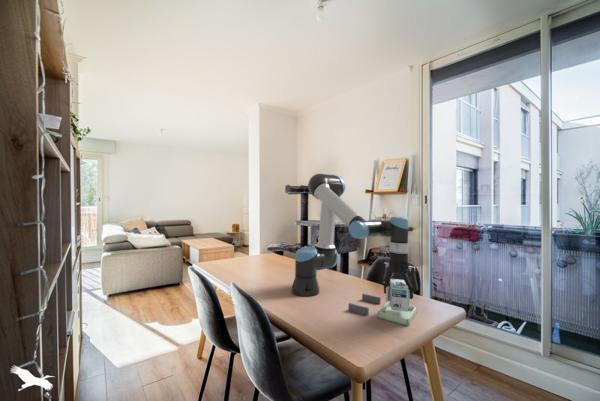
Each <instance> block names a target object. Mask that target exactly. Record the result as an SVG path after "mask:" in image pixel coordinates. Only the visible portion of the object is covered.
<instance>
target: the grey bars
mask: <svg viewBox="0 0 600 401" xmlns="http://www.w3.org/2000/svg"><path fill="white" fill-rule="evenodd" d="M361 295H362V296H361V299H362V301H365V302H369V303H373V304H378V305H380V304H381V302H382V301H381V300H382V297H381V296H376V295H373V294H372V295H371V294H367V293H362V294H361ZM381 305H382V304H381ZM369 310H370V307H367V306H365V305H364V306H363V305H359V304H356V303H351V302H349V303H348V311H350V312H354V313H358V314H361V315H364V316H365V315H366V316H369Z"/></svg>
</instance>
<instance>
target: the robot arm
mask: <svg viewBox="0 0 600 401" xmlns="http://www.w3.org/2000/svg"><path fill="white" fill-rule="evenodd" d="M345 183H346V182H345V181H344V179H343V178H342V177H341V176H338V175H335V174H326V173H316V174H314V175H312V176H311V177H310V179H309V180H308V184H307V187H308V190H309V193H310V194H311V195H312V196H313V198H315V199H316V200H320V201H321V204H320V205H321V206H320V217H319V227H318V228H319V231H318V239H317V240H318V242H316V243H315V245H314V246H313V247H312V246H311V247H310V246H307V247H301V248H299V249H297V250H296V251H295V258H294V259H295V268H294V276H295V277H294V279H293V282H292V285H291V293H292V294H293V295H296V296H300V297H312V296H313V297H314V296H317V295H319V294H320V285H319V282H318V279H317V272H318V271H322V270H329V269H332V268H333V267H335V266H336V265H337V264H338V262H339V259H340V258H339V256H340V255H339V253H338V250H337V249H336V245H335V244H334V240H335V239H334V238H335V228H336V217H337V218H338V219H339V220H340V221H342V223H343V224H345V225H346V226H347V227H348V232H349V235H350V236H351V237H352V238H354V239H361V240H362V239H369V238H374V237H375V238H376V237H385V238H389V250H390V252H389V262H383V263H382V270H381V275H380V279H379V280H380V281H379V284H380V285H381V286H383V294H385V302H386V303H387V302H388V301H389V293H390V280H391V279H393V276H394V274H400V275H402V277H403V280H404V281H405V283H406V284H407V286H408V307H410V305H411V306H412V304H411V303H412V300H413V299H414V292H417V291H418V290H419V286H418V281H417V276H416V266H411V265H410V264H409V253H408V252H409V229H410V228H409V219H408V218H407V217H405V216H404V217H403V216H391V217H390V220H382V219H369V220H366V219H365V218H364V217H362V216H361V215H360V214H359V213H358V212H357V211H355V210H354V209H353V207H351V206H350V205H349V204H347V203H346V201H344V199H343V198H341V196H342V195H344V193H345V190H346V184H345ZM388 268H390V269H391V270H390V272H389V274H388V275H387V271H388ZM407 270H409V272H410V276H411V280H412V281H411V280H410V277H409V275H408V271H407ZM386 276H387V278H386Z"/></svg>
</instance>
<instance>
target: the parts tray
mask: <svg viewBox="0 0 600 401" xmlns="http://www.w3.org/2000/svg"><path fill="white" fill-rule="evenodd" d="M417 314H418V306H414V305H412V304H411V305H410V307H408V312H405V311H396V310H392V309H391V306H390V302H389V301H388V302H386V303H385V304H384V305H382V307H381V308H380V309H378V311H377V316H376V318H377V319H381V320H384V321H388V322H392V323H396V324H398V325H399V324H400V325H404V326H407V327H409V326H410V324H411V322H413V319H414V318H415V317H416V315H417Z"/></svg>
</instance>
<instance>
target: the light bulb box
mask: <svg viewBox="0 0 600 401" xmlns="http://www.w3.org/2000/svg"><path fill="white" fill-rule="evenodd" d="M389 286H390V293H389V302H390V306H391V309H392V310H396V311H405V312H408V290H409V288H408V286H407V284H406V281H405V279H399V278H397V279H396V278H391V280H390V282H389Z"/></svg>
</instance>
